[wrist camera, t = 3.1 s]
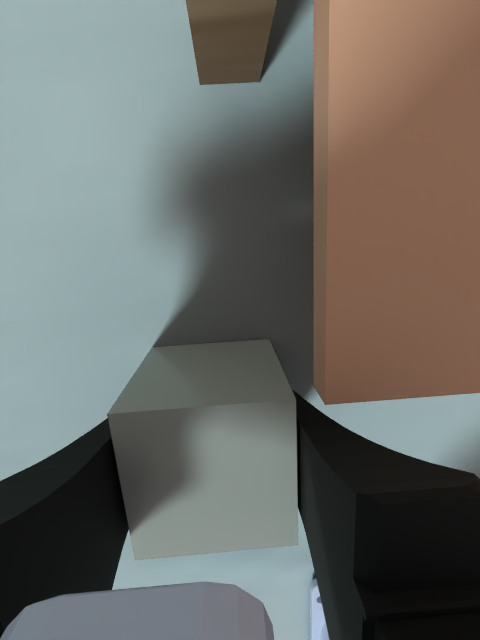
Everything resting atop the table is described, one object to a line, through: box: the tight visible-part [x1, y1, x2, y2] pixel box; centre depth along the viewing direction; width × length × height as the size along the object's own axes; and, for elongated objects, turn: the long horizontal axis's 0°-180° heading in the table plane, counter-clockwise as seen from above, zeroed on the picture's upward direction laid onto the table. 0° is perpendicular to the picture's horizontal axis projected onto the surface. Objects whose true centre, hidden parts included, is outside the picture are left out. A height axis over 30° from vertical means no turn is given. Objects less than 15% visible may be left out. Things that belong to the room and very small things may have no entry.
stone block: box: [107, 339, 298, 560], centre depth 11 cm, size 5×5×5 cm
